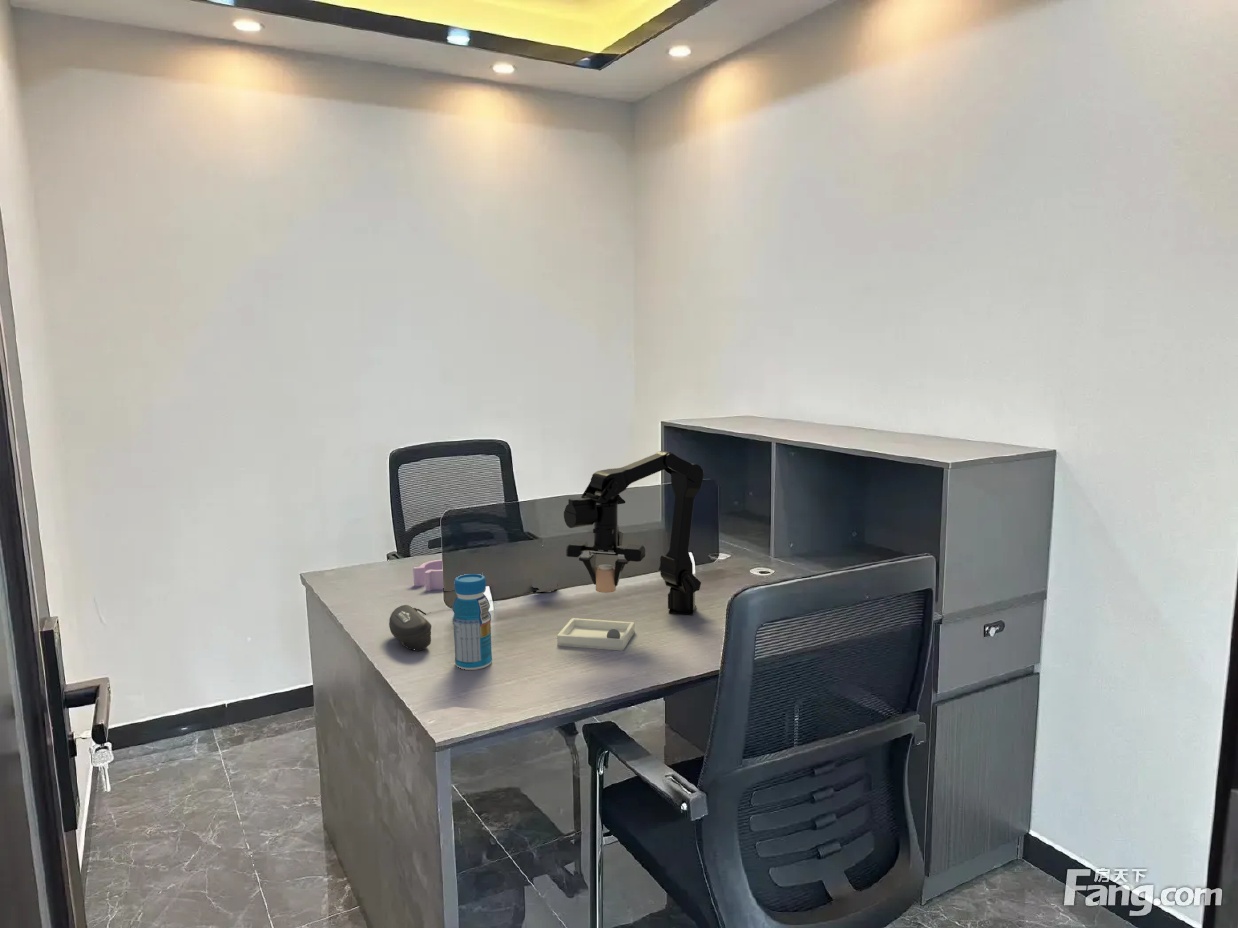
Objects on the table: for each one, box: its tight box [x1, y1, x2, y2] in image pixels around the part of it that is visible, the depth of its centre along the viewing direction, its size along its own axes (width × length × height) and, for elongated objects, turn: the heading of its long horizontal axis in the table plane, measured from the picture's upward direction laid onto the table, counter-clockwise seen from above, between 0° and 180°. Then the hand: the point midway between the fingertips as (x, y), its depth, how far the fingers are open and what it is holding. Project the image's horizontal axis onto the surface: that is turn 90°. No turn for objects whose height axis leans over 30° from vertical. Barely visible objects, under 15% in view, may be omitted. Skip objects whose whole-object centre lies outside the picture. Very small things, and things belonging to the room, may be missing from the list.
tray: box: [556, 617, 635, 651], centre depth 189 cm, size 16×12×2 cm
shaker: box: [595, 563, 617, 594], centre depth 193 cm, size 5×5×6 cm
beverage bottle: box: [451, 574, 493, 671], centre depth 174 cm, size 8×8×20 cm
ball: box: [607, 629, 620, 639], centre depth 185 cm, size 3×3×3 cm
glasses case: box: [388, 604, 432, 651], centre depth 188 cm, size 18×10×8 cm, turn 31°
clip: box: [412, 559, 444, 592], centre depth 233 cm, size 20×12×7 cm, turn 134°
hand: (605, 584), depth 193 cm, fingers closed on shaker, 5 cm apart
